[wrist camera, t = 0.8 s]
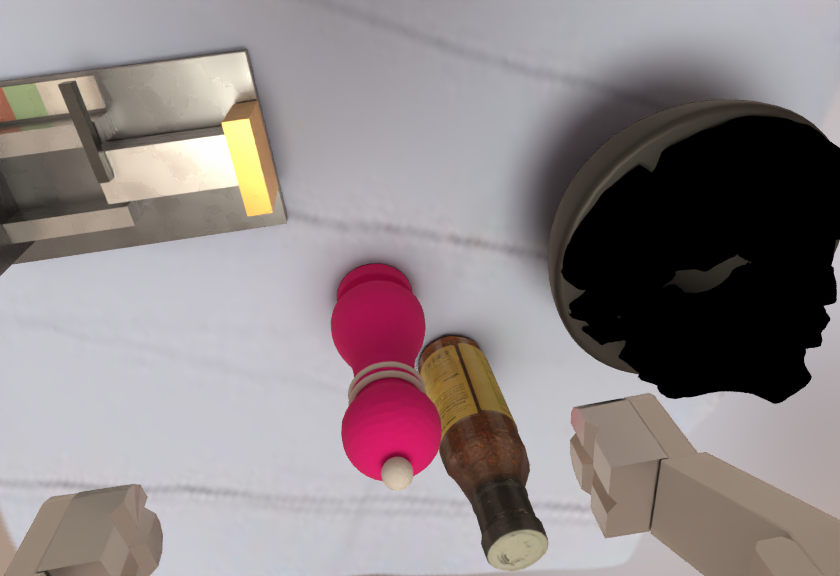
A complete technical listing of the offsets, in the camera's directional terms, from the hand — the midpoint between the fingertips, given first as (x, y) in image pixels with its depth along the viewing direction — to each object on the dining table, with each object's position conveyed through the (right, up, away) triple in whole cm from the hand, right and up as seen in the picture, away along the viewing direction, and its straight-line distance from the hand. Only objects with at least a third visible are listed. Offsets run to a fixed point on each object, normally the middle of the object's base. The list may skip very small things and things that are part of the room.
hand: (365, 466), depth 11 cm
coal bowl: (+18, +11, +36) cm, 42 cm away
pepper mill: (-3, +3, +37) cm, 38 cm away
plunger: (-15, +14, +28) cm, 34 cm away
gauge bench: (-19, +12, +29) cm, 37 cm away
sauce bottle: (+4, -3, +42) cm, 42 cm away
